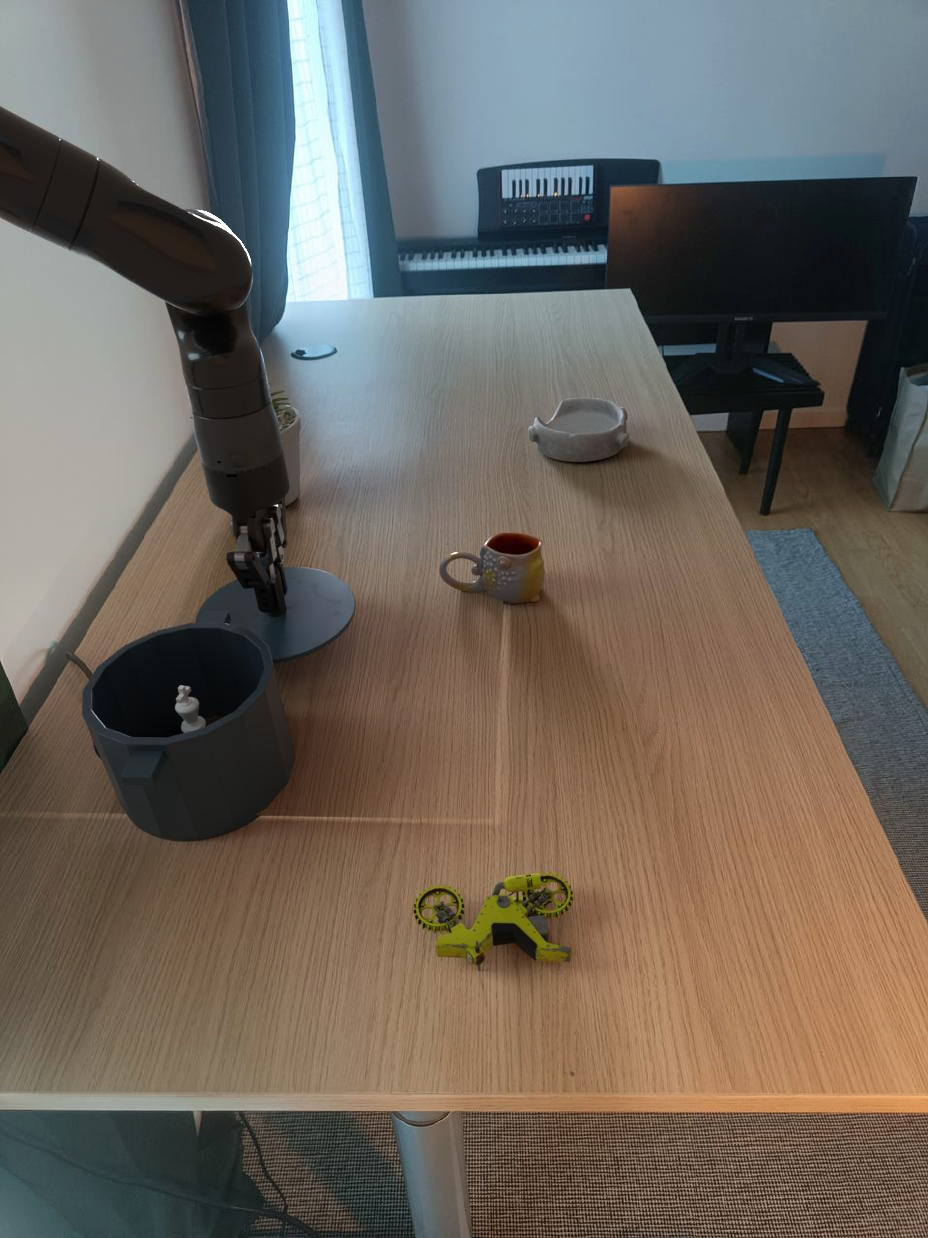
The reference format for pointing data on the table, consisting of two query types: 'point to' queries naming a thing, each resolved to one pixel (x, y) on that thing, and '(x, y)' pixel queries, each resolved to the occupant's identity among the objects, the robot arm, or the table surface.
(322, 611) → the lid
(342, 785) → the table surface
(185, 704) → the chess piece
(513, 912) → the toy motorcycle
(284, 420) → the potted plant
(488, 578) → the mug
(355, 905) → the table surface
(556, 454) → the dish
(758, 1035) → the table surface
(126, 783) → the pot
